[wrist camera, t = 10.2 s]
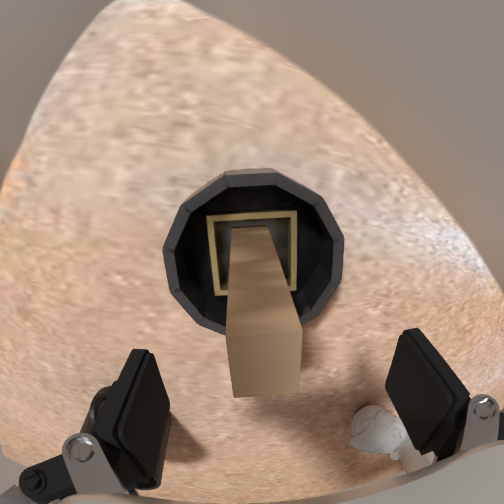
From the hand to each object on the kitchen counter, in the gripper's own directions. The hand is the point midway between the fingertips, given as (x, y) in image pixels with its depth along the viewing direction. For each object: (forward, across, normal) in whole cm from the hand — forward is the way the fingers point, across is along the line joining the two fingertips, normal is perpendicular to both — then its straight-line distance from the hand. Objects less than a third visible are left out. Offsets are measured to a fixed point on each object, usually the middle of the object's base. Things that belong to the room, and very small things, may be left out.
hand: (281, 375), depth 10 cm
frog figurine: (+13, -12, +21) cm, 28 cm away
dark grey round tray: (+12, +1, -1) cm, 12 cm away
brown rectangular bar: (+12, +1, -1) cm, 12 cm away
